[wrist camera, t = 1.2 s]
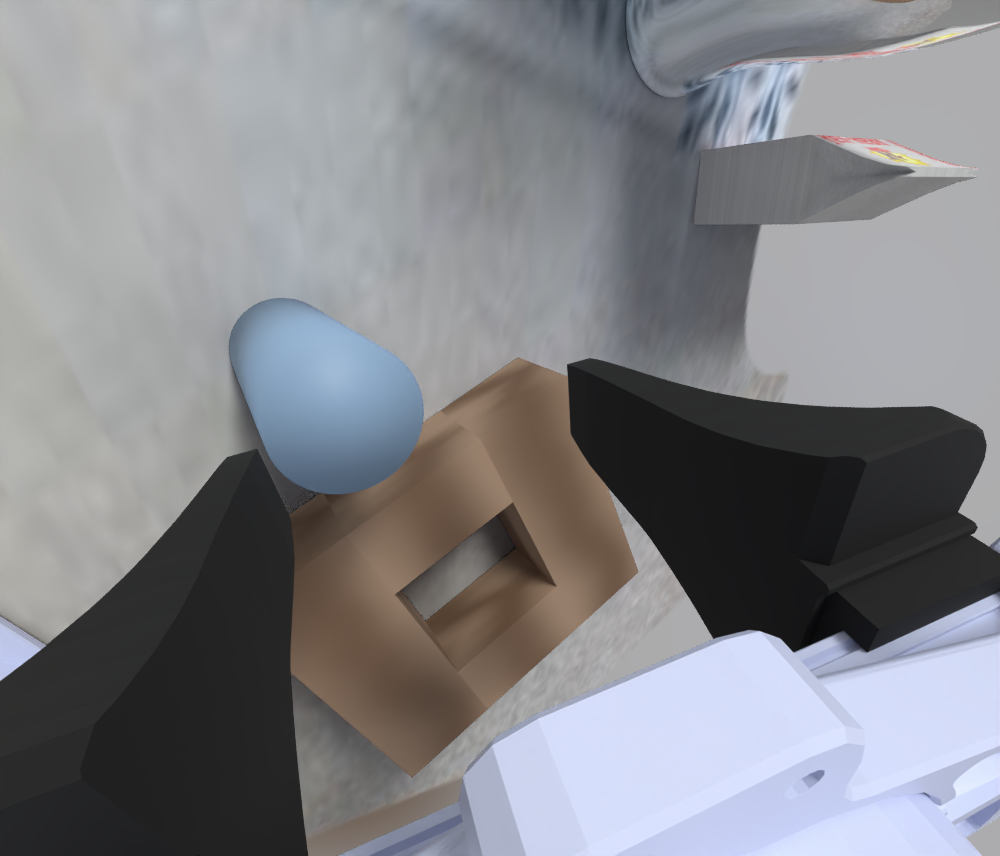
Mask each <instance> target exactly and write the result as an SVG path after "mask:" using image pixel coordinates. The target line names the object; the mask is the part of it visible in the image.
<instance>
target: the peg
mask: <svg viewBox="0 0 1000 856" xmlns="http://www.w3.org/2000/svg"><path fill="white" fill-rule="evenodd" d="M229 355H230V360H231V363H232V366H233V369H234V371H235V374H236V376H237V379H238V381H239V384H240V386H241V389H242V391H243V394H244V396H245V399H246V401H247V404H248V406H249V409H250V411H251V414H252V416H253V419H254V421H255V424H256V426H257V429H258V431H259V434H260V436H261V439H262V441H263V444H264V446H265V449H266V451H267V453H268V455H269V457H270V459H271V461H272V462H273V463H274V465H275V466H276V468H277V469H278V470H279V471H280V472H281V473H282V474H283V475H284V476H285V477H287V478H288V479H289V480H291V481H292V482H294V483H295V484H297V485H299V486H301V487H303V488H306V489H308V490H311V491H314V492H318V493H324V494H348V493H354V492H358V491H362V490H365V489H367V488H370V487H372V486H374V485H377V484H379V483H380V482H382V481H384V480H385V479H387V478H388V477H389V476H391V475H392V474H393V473H395V472H396V471H397V470H398V469H399V468H400V467H401V466H402V465H403V464H404V462H405V461H406V460H407V459H408V457H409V456H410V454H411V453H412V451H413V450H414V448H415V446H416V443H417V441H418V439H419V436H420V433H421V429H422V425H423V416H424V408H423V399H422V394H421V391H420V388H419V385H418V383H417V381H416V379H415V377H414V375H413V374H412V372H411V371H410V369H409V368H408V367H407V366H406V365H405V364H404V363H403V362H402V361H401V360H400V359H399V358H398V357H397V356H395V355H394V354H392V353H391V352H389V351H387V350H386V349H384V348H382V347H381V346H379V345H377V344H375V343H374V342H372V341H370V340H369V339H367V338H365V337H364V336H362V335H360V334H358V333H357V332H355V331H353V330H352V329H350V328H348V327H347V326H345V325H343V324H341V323H340V322H338V321H336V320H335V319H333V318H331V317H330V316H328V315H326V314H324V313H323V312H321V311H319V310H318V309H316V308H314V307H312V306H311V305H309V304H307V303H304V302H301V301H299V300H294V299H287V298H276V299H270V300H266V301H263V302H260V303H258V304H256V305H254V306H252V307H251V308H249V309H248V310H247V311H246V312H244V313H243V314H242V316H241V317H240V318H239V319H238V320H237V322H236V324H235V325H234V327H233V330H232V332H231V335H230V340H229Z"/></svg>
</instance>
